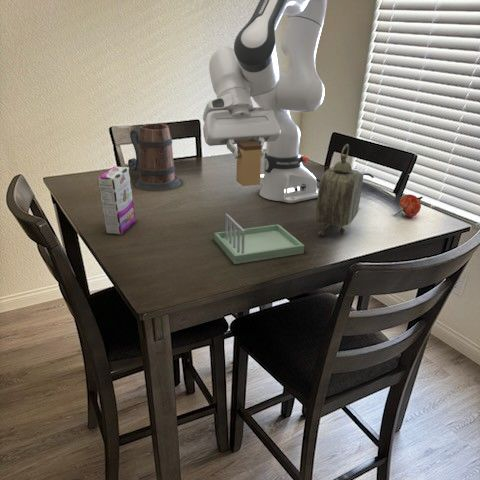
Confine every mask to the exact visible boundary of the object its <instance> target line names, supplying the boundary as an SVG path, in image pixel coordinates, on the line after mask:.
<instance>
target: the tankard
mask: <svg viewBox="0 0 480 480" xmlns="http://www.w3.org/2000/svg"><path fill="white" fill-rule="evenodd" d="M129 136H130V140H131V143H132V146H133V148H134V152H135V157H134V158H133V157H132V158H129V159H128V161H127V165H128V167H129V170H131V171H132V172H136V171H139V176H138V178H137V180H136V182H135V183H134V185H135V187H137V188H138V189H140V190H145V191H155V192H157V191H169V190H173V189H176V188H178V187H180V186H181V185H182V182H181V180H179V178H178V177H177V175H176V172H175V171H176V166H175V163H174V153H173V138H172V136H171V131H170V128H169V125H168V124H164V123H159V124H143V125H140V126H139V128H135V129H132V130H130V132H129Z"/></svg>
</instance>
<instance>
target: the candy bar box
mask: <svg viewBox="0 0 480 480" xmlns="http://www.w3.org/2000/svg"><path fill="white" fill-rule="evenodd" d="M97 183H98V190H99V196H100V202H101V208H102V209H101V210H102V214H103V216H102V217H103V221H104V227H105V233H106V234H108V235H123V234H124V233H125V232H126V231H127V230H128V229H129V228H130V227H131V226H132V225H133V224H134V223H135V222H136V215H135V207H134V198H133V197H134V196H133V191H132V182H131V173H130V168H129V166H117V165H116V166H112V167H111V168H109V169H108V170H106V171H105V172H104V173H102V174H100V175H99V176H97Z"/></svg>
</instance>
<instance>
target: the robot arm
mask: <svg viewBox="0 0 480 480" xmlns="http://www.w3.org/2000/svg"><path fill="white" fill-rule="evenodd" d="M327 6H328V0H259V1H258V3H257V5H256V8H255V10H254V11H253V13H252V16H251V17H250V19H249V20H248V22H247V23H246V24H245V25H244V26H243V27H242V28H241V30H239V32H238V33H237V35H236V37H235V39H234V42H233V47H230V46H223V47H220V48H218V49H216V50H215V52H214V53H213V54H212V56H210V57H211V58H210V59H209V65H208V66H209V68H208V69H209V76H210V82H211V86H212V89H213V92H214V94H215V95H216V98H214V99H212V100H209V101H207V103H206V105H205V108H204V110H203V115H202V120H203V126H202V132H203V138H204V143H205V144H206V145H208V146H209V147H214V146H216V147H217V146H226V148H227V150H228V151H229V152H231V153H232V155H233V158H234V159H236V160H237V159H238V158H240V157H241V151H240V149H237V146H235V145H237V142H246V141H255V142H257V143H259V144H260V145H262V149H261V158H262V157H263V156H264V159H263V170H264V172H263V174H260V178H263V179H262V183H261V187H260V190H259V193H258V195H259V196H260V197H262V198H263V199H266V200H270V201H276V202H282V203H286V204H287V203H288V204H294V203H299V202H303V201H308V200H313V199H318V192H319V187H318V182H319V183H320V181H321V179H319V178H318V176H315V175H314V173H312V172H311V171H310V170H309V169H308V168H307V167H305V166H304V164H306V163H308V162H309V157H308V156H307V155H302V154H300V143H301V130H300V128H299V126H298V125H297V124H296V123H295V122H294V121H293V119H292V117H291V116H292V115H291V114H290V112H294V113H310V112H311V113H312V112H315V111H317V110H318V109H319V108H320V106H321V105H322V103H323V101H324V99H325V85H324V83H323V81H322V79H321V78H320V76H319V74H318V72H317V67H316V66H317V65H316V55H317V50H318V46H319V42H320V37H321V34H322V30H323V26H324V23H325V19H326V13H327ZM282 16H285V17H286V16H287V19H286V22H285V27H284V30H283V33H282V37H281V42H280V47H281V51H282V53H283V54H284V56H285V57H286V58H287V59H288V68H287V71H285V70H280V67H279V60H278V55H277V47H276V46H277V45H276V29H277V27H278V26H279V25H278V24H279V23H280V20H281V19H282ZM252 100H253V101H252ZM253 102H255V103H256V105H257V106H258V107H254V105H253ZM265 143H266V144H265ZM264 144H265V152H264V149H263V147H264ZM363 176H369V177H371V178H372V179H374V178H375V176H374V175H373V174H371V173H368V172H363Z"/></svg>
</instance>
